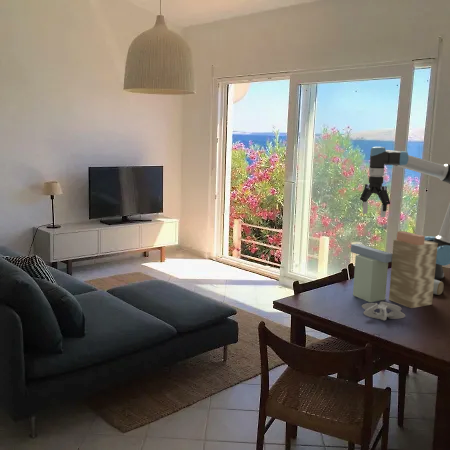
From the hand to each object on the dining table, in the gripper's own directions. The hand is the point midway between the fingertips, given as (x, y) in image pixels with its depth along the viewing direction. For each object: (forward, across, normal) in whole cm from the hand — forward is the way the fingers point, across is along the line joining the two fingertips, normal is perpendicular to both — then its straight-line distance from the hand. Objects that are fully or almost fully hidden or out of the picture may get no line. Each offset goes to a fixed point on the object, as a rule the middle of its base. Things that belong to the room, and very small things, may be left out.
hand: (373, 215), depth 285 cm
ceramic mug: (+37, +31, +14) cm, 50 cm away
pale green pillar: (+36, +23, -22) cm, 48 cm away
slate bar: (+16, +22, -22) cm, 35 cm away
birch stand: (+36, +37, -9) cm, 53 cm away
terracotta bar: (+7, +37, -12) cm, 40 cm away
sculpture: (+37, +47, -37) cm, 70 cm away
